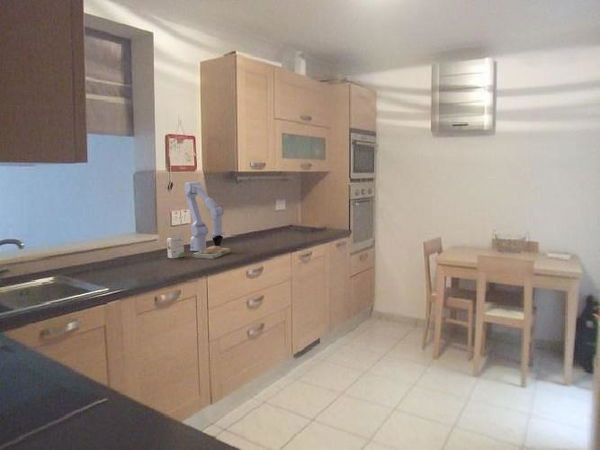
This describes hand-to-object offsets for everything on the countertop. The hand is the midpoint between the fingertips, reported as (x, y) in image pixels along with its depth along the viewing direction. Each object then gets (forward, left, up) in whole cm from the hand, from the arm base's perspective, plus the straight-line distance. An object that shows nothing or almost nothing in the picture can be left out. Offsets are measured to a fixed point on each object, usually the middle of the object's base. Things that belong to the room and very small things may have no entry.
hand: (217, 247), depth 278 cm
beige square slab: (0, -2, -3) cm, 4 cm away
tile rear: (0, -4, -1) cm, 4 cm away
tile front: (0, -9, -1) cm, 9 cm away
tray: (0, -13, -3) cm, 13 cm away
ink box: (-17, -20, -3) cm, 26 cm away
